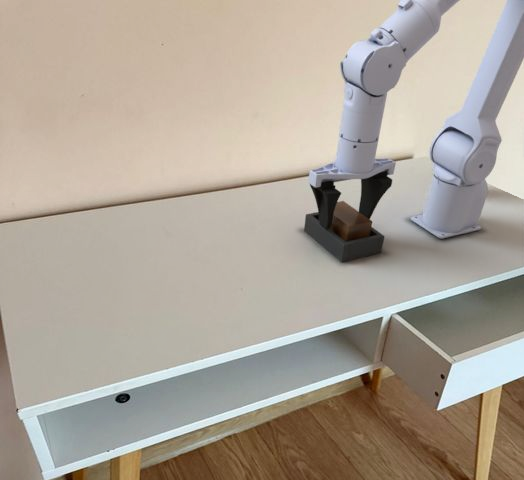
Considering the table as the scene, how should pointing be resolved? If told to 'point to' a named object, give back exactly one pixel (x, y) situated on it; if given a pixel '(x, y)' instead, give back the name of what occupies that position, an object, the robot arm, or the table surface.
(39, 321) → the table surface
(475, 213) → the robot arm
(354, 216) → the walnut block
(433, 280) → the table surface
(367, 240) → the dark gray rectangular tray
